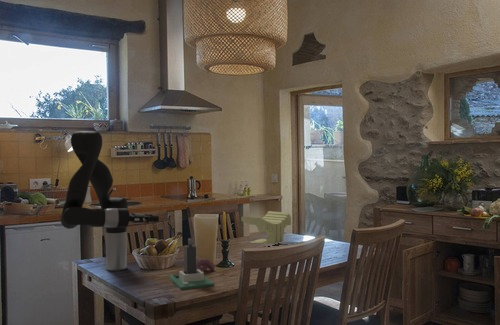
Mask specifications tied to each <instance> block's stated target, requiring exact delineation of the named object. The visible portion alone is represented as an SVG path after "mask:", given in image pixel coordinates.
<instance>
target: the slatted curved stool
mask: <svg viewBox="0 0 500 325" xmlns="http://www.w3.org/2000/svg"><path fill="white" fill-rule="evenodd" d="M241 222H243V223H245V224H249V225H252V226H255V227H256V228H257V230H258V232H261V233H265V234H266V235H267V239H266V238H260V239H259V238H258V239H255V240H252V241H250V242H249V244H250V243H264V244H275V243H278V242H282V241H284V233H285V229H286V228H287V227H288V226H292V216H291V215H290V213H288V212H283V211H274V210H273V211H270V210H268V211H267V213H266V214H265V215H264V216H263V217H262V218H260V217H252V216H250V217H249V216H241ZM282 243H283V242H282Z"/></svg>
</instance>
